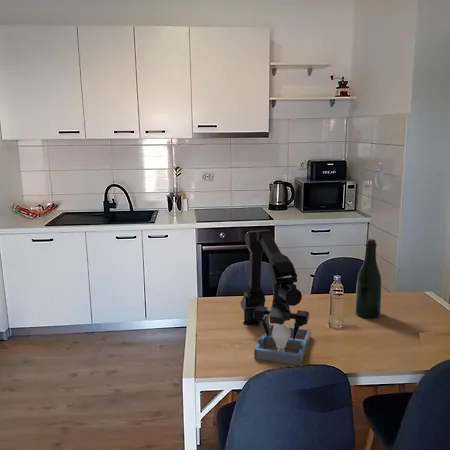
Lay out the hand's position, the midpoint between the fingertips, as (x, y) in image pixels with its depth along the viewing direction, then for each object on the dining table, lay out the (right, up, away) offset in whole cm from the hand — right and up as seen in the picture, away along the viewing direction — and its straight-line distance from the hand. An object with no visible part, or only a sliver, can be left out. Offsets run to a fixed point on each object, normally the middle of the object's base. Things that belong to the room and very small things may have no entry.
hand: (280, 337), depth 160 cm
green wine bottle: (+41, +1, +35) cm, 54 cm away
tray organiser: (+2, -5, +6) cm, 8 cm away
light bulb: (0, -6, +1) cm, 6 cm away
